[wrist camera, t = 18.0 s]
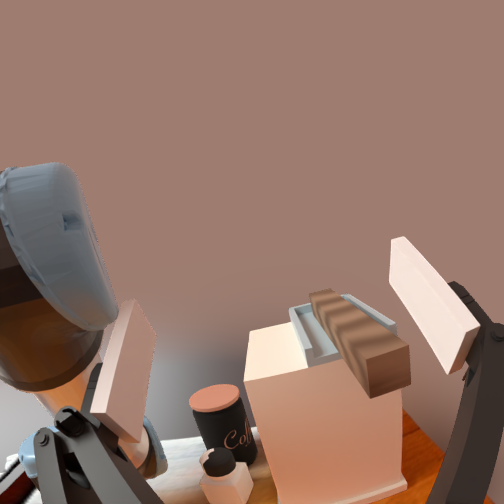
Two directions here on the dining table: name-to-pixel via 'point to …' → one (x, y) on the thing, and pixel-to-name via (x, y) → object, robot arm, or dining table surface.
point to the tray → (315, 338)
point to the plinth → (321, 425)
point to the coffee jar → (224, 421)
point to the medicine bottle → (225, 478)
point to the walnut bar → (363, 344)
